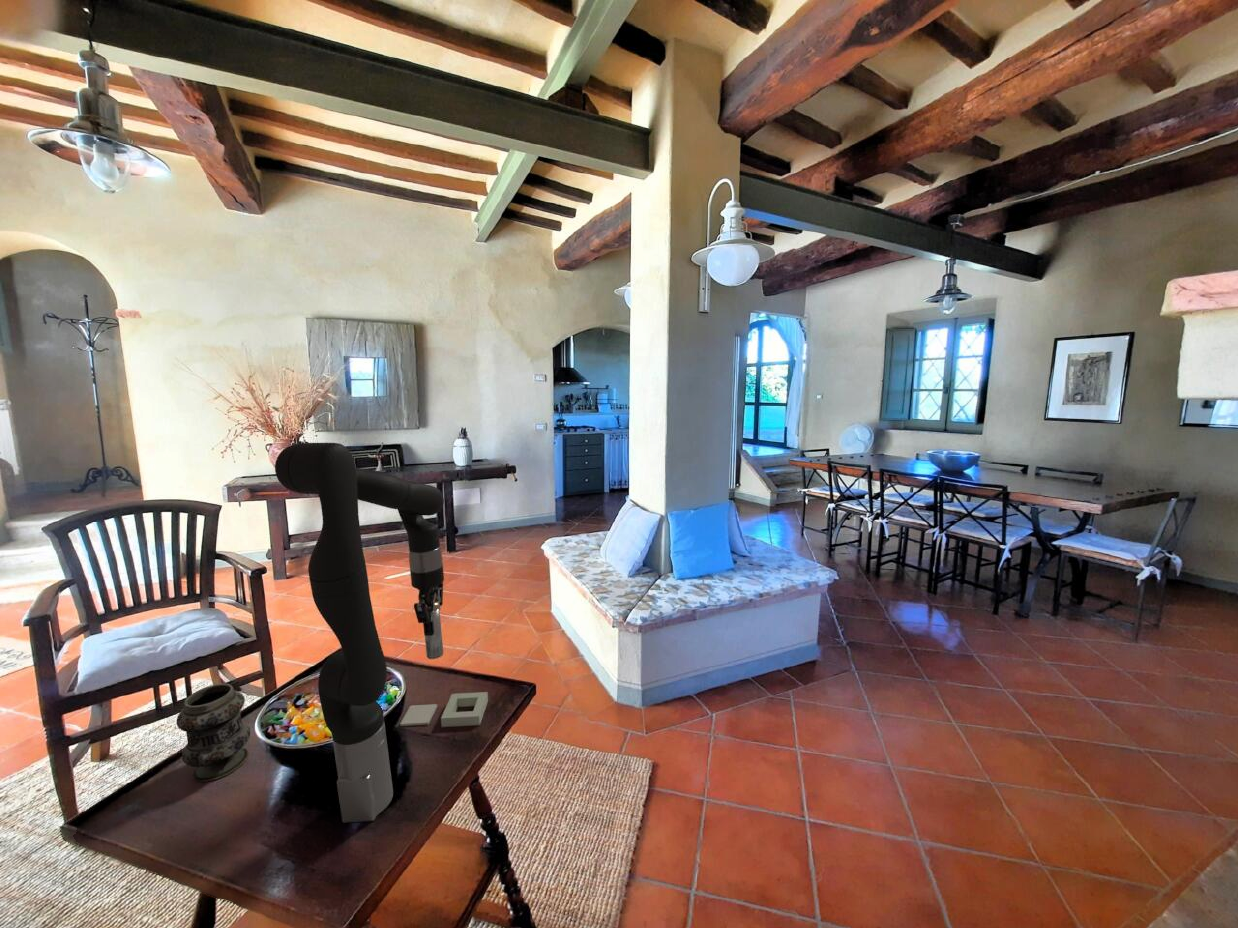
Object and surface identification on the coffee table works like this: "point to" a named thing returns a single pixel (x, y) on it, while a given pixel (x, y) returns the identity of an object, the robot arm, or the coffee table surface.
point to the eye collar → (464, 718)
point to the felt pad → (418, 715)
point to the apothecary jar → (214, 732)
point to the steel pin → (435, 636)
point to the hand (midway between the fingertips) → (432, 629)
